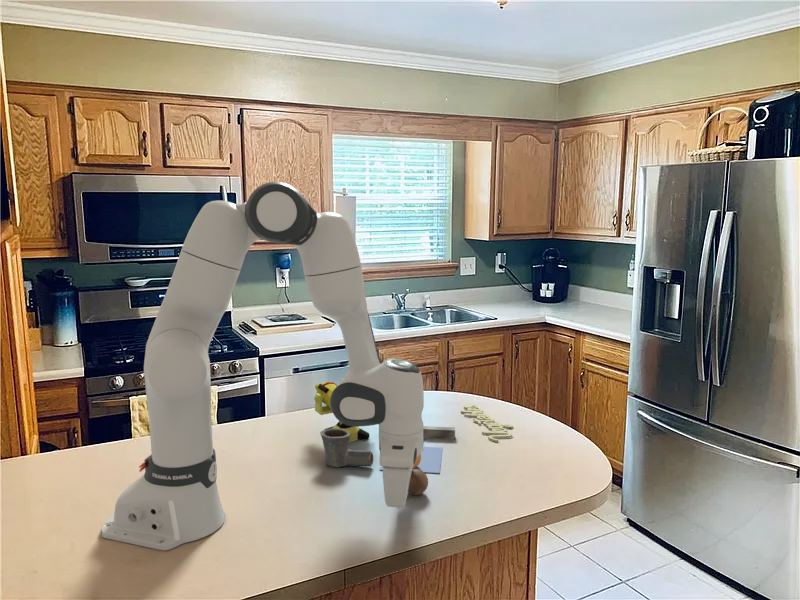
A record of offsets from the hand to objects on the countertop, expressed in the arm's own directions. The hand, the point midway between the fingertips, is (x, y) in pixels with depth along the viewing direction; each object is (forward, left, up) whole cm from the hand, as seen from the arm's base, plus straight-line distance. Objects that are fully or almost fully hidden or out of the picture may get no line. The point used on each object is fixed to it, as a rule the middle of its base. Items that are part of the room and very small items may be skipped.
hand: (400, 505), depth 123 cm
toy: (-20, +38, -2) cm, 43 cm away
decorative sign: (+19, +51, -2) cm, 54 cm away
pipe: (-15, +20, -2) cm, 25 cm away
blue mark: (0, +25, -2) cm, 25 cm away
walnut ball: (+2, +8, +1) cm, 8 cm away
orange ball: (0, +20, +1) cm, 20 cm away
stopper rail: (0, +39, -2) cm, 39 cm away
